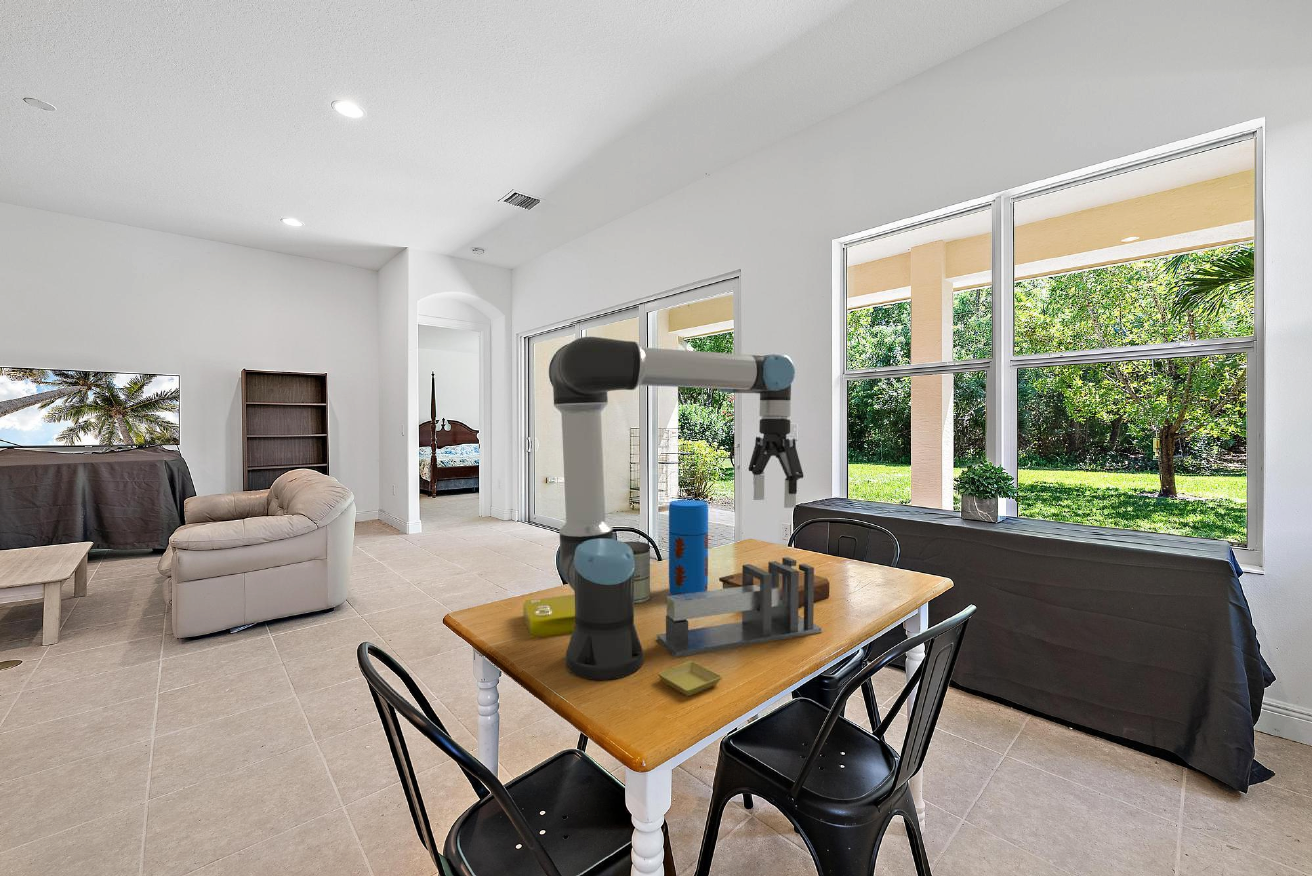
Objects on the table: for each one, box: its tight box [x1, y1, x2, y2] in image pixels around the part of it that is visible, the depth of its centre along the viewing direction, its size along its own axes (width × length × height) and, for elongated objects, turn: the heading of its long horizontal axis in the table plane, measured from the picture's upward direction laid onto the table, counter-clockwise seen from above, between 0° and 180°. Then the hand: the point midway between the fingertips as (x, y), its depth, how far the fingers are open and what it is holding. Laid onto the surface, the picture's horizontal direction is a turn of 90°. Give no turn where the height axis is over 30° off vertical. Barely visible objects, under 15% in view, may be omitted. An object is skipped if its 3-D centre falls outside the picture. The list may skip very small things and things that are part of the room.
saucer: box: [657, 660, 723, 697], centre depth 101 cm, size 9×9×2 cm
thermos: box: [668, 499, 709, 596], centre depth 153 cm, size 11×11×25 cm
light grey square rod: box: [666, 584, 781, 621], centre depth 121 cm, size 26×4×4 cm, turn 112°
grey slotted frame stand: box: [656, 556, 823, 658], centre depth 123 cm, size 36×10×15 cm, turn 112°
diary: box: [718, 565, 830, 608], centre depth 150 cm, size 23×19×6 cm
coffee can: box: [623, 541, 651, 604], centre depth 149 cm, size 10×10×14 cm
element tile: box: [523, 594, 575, 638], centre depth 131 cm, size 15×15×5 cm
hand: (773, 503), depth 138 cm, fingers open, 13 cm apart
